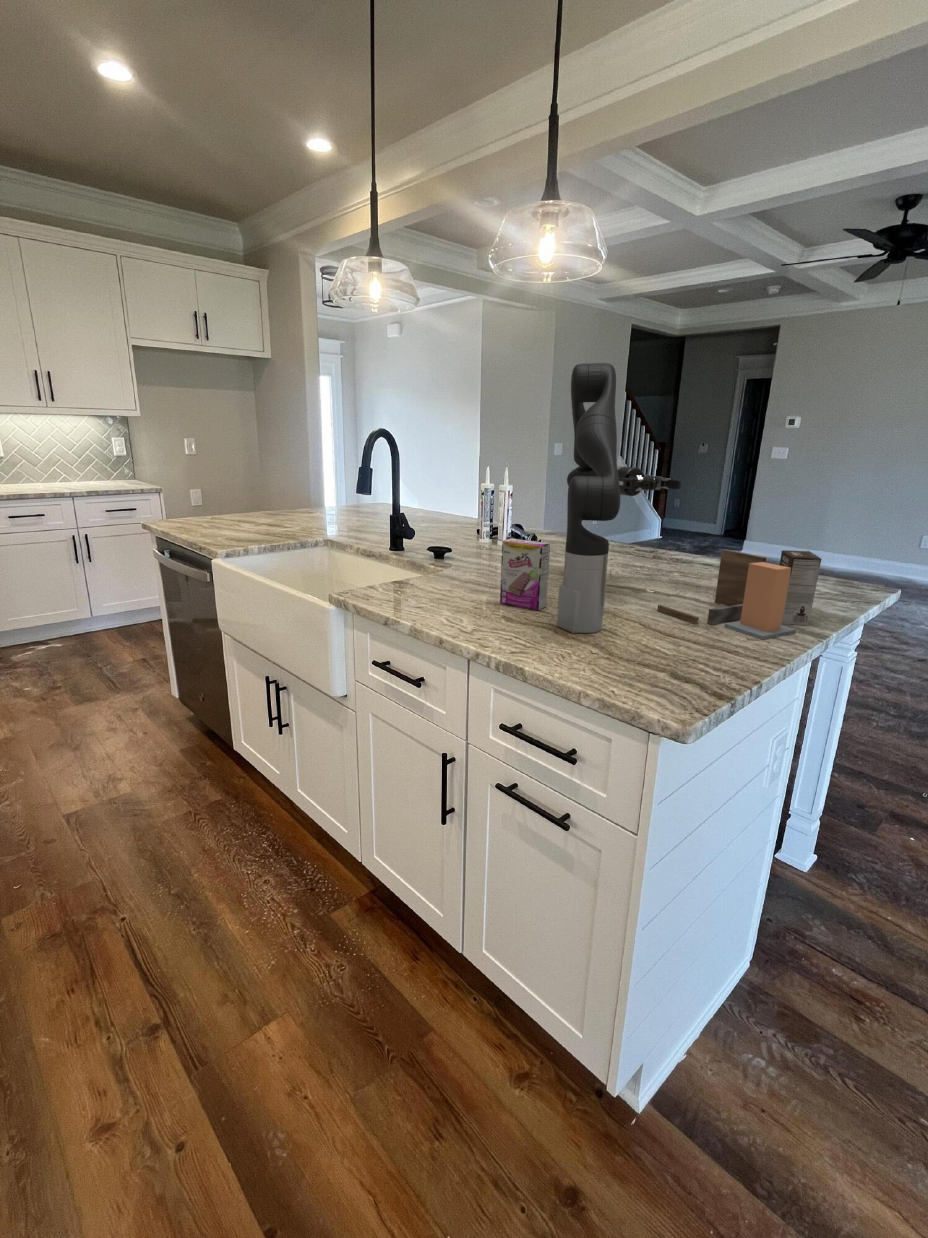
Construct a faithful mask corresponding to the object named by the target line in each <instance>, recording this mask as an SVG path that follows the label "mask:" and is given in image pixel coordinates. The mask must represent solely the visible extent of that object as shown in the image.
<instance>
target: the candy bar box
mask: <svg viewBox="0 0 928 1238" xmlns="http://www.w3.org/2000/svg"><path fill="white" fill-rule="evenodd" d="M501 544H502V545H501V564H500V566H501V571H500V594H499V595H500V597H499V604H500V603H501V605H506V606H510V605H512V606H511V607H517V608H521V607H522V608H521V609H526V608H529V609H528V610H532V609H533V611H537V610H539V611H541V610H542V609H541V608H543V609H544V607H545V608H546V607H547V602H548V601H547V600H548V599H547V597H548V587H549V586H548V584H549V583H548V582H549V570H550V569H549V568H550V552H551V543H548V542H543V541H534V540H526V539H518V538H507V539H504V540H502V543H501ZM540 609H541V610H540Z"/></svg>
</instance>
